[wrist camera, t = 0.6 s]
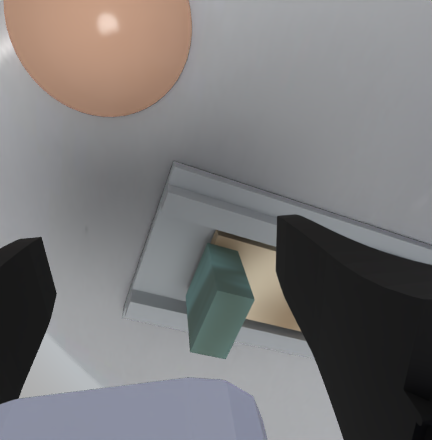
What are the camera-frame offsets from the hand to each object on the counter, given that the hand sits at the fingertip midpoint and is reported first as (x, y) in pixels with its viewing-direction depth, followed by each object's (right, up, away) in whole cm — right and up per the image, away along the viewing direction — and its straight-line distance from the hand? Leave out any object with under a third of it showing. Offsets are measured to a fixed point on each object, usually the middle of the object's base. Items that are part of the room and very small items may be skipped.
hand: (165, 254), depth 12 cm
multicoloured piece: (+7, -3, +12) cm, 15 cm away
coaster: (-4, +10, +6) cm, 12 cm away
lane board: (+7, -3, +13) cm, 15 cm away
